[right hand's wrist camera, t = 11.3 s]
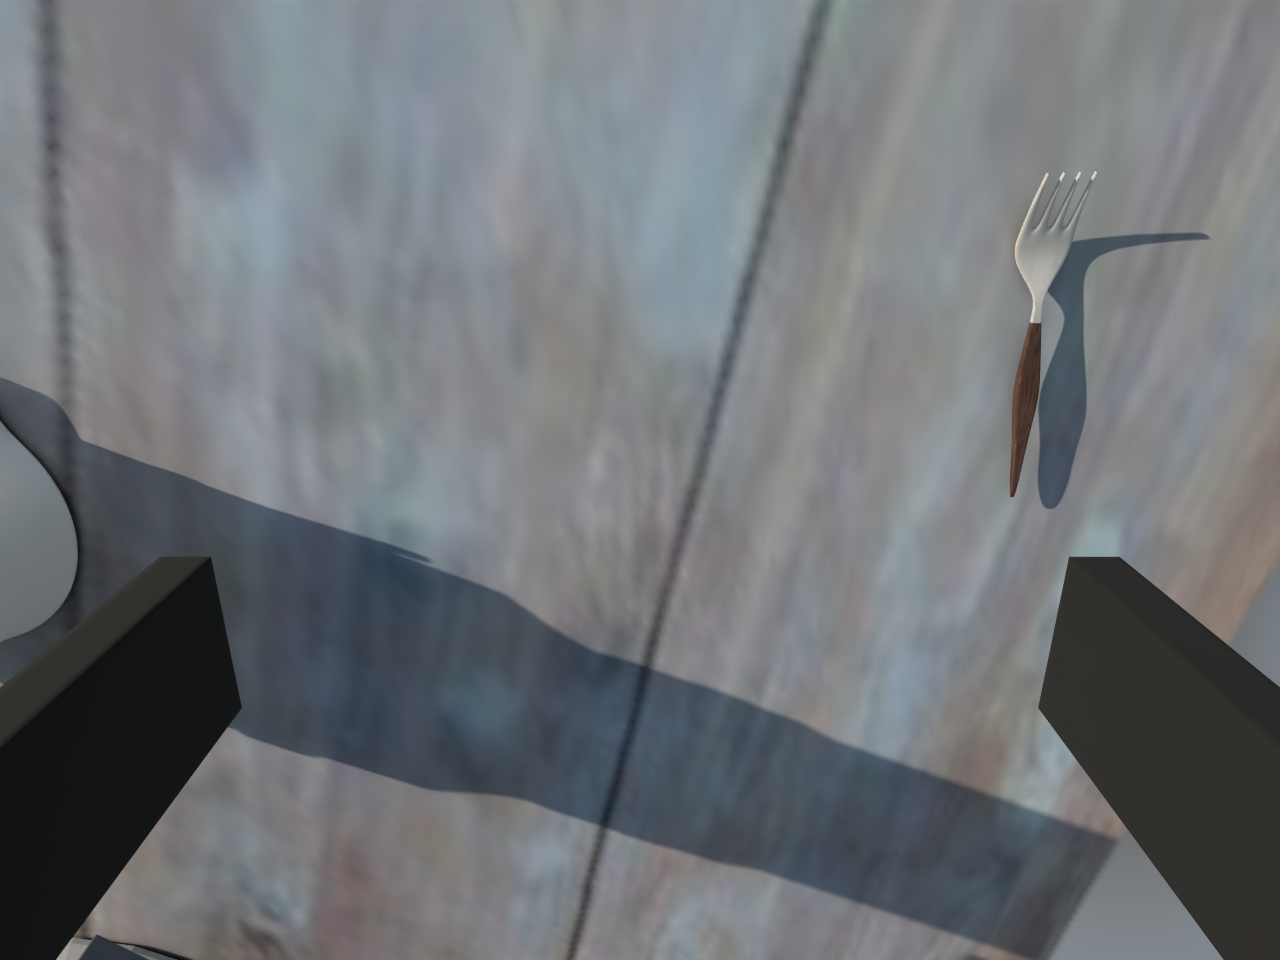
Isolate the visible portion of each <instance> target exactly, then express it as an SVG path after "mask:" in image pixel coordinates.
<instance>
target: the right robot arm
mask: <svg viewBox="0 0 1280 960" xmlns="http://www.w3.org/2000/svg"><path fill="white" fill-rule="evenodd" d="M241 708H242V707H241V702H240V697H239V692H238V688H237V683H236V678H235V673H234V668H233V663H232V658H231V653H230V648H229V644H228V639H227V634H226V629H225V624H224V619H223V614H222V609H221V604H220V600H219V595H218V590H217V585H216V580H215V575H214V570H213V565H212V560H211V557H160V558H159V559H157V560H156V561H155V562H154V563H153V564H151V565H150V566H149V567H148V568H146V569H145V570H144V571H143V572H141V573H140V574H139V575H138V576H137V577H135V578H134V579H133V580H132V581H130V582H129V583H128V584H127V585H126V586H124V587H123V588H122V589H121V590H119V591H118V592H117V593H116V594H114V595H113V596H112V597H111V598H110V599H108V600H107V601H106V602H105V603H103V604H102V605H101V606H100V607H98V608H97V609H96V610H95V611H94V612H92V613H91V614H90V615H89V616H87V617H86V618H85V619H84V620H83V621H81V622H80V623H79V624H78V625H76V626H75V627H74V628H73V629H71V630H70V631H69V632H68V633H67V634H65V635H64V636H63V637H62V638H60V639H59V640H58V641H57V642H55V643H54V644H53V645H52V646H51V647H49V648H48V649H47V650H46V651H44V652H43V653H42V654H41V655H39V656H38V657H37V658H36V659H35V660H33V661H32V662H31V663H30V664H28V665H27V666H26V667H25V668H24V669H22V670H21V671H20V672H19V673H17V674H16V675H15V676H14V677H12V678H11V679H10V680H9V681H8V682H6V683H5V684H4V685H3V686H1V687H0V960H56V959H57V958H58V957H59V955H60V954H61V952H62V951H63V950H64V948H65V947H66V946H67V944H68V943H69V942H70V940H71V939H72V938H73V936H74V935H75V933H76V932H77V931H78V929H79V928H80V927H81V925H82V924H83V923H84V921H85V920H86V919H87V917H88V916H89V914H90V913H91V912H92V910H93V909H94V908H95V906H96V905H97V904H98V902H99V901H100V900H101V898H102V897H103V895H104V894H105V893H106V891H107V890H108V889H109V887H110V886H111V885H112V883H113V882H114V880H115V879H116V878H117V876H118V875H119V874H120V872H121V871H122V870H123V868H124V867H125V866H126V864H127V863H128V861H129V860H130V859H131V857H132V856H133V855H134V853H135V852H136V851H137V849H138V848H139V847H140V845H141V844H142V842H143V841H144V840H145V838H146V837H147V836H148V834H149V833H150V832H151V830H152V829H153V828H154V826H155V825H156V823H157V822H158V821H159V819H160V818H161V817H162V815H163V814H164V813H165V811H166V810H167V809H168V807H169V806H170V804H171V803H172V802H173V800H174V799H175V798H176V796H177V795H178V794H179V792H180V791H181V790H182V788H183V787H184V785H185V784H186V783H187V781H188V780H189V779H190V777H191V776H192V775H193V773H194V772H195V770H196V769H197V768H198V766H199V765H200V764H201V762H202V761H203V760H204V758H205V757H206V756H207V754H208V753H209V751H210V750H211V749H212V747H213V746H214V745H215V743H216V742H217V741H218V739H219V738H220V737H221V735H222V734H223V732H224V731H225V730H226V728H227V727H228V726H229V724H230V723H231V722H232V720H233V719H234V718H235V716H236V715H237V713H238V712H239V711H240V709H241ZM1038 708H1039V709H1040V711H1041V712H1042V713H1043V715H1044V716H1045V718H1046V719H1047V720H1048V722H1049V723H1050V724H1051V726H1052V727H1053V728H1054V730H1055V731H1056V732H1057V734H1058V735H1059V737H1060V738H1061V739H1062V741H1063V742H1064V743H1065V745H1066V746H1067V747H1068V749H1069V750H1070V751H1071V753H1072V754H1073V756H1074V757H1075V758H1076V760H1077V761H1078V762H1079V764H1080V765H1081V766H1082V768H1083V769H1084V770H1085V772H1086V773H1087V775H1088V776H1089V777H1090V779H1091V780H1092V781H1093V783H1094V784H1095V785H1096V787H1097V788H1098V790H1099V791H1100V792H1101V794H1102V795H1103V796H1104V798H1105V799H1106V800H1107V802H1108V803H1109V804H1110V806H1111V807H1112V809H1113V810H1114V811H1115V813H1116V814H1117V815H1118V817H1119V818H1120V819H1121V821H1122V822H1123V823H1124V825H1125V826H1126V828H1127V829H1128V830H1129V832H1130V833H1131V834H1132V836H1133V837H1134V838H1135V840H1136V841H1137V842H1138V844H1139V845H1140V847H1141V848H1142V849H1143V851H1144V852H1145V853H1146V855H1147V856H1148V857H1149V859H1150V860H1151V861H1152V863H1153V864H1154V866H1155V867H1156V868H1157V870H1158V871H1159V872H1160V874H1161V875H1162V876H1163V878H1164V879H1165V880H1166V882H1167V883H1168V885H1169V886H1170V887H1171V889H1172V890H1173V891H1174V893H1175V894H1176V895H1177V897H1178V898H1179V900H1180V901H1181V902H1182V904H1183V905H1184V906H1185V908H1186V909H1187V910H1188V912H1189V913H1190V914H1191V916H1192V917H1193V919H1194V920H1195V921H1196V923H1197V924H1198V925H1199V927H1200V928H1201V929H1202V931H1203V932H1204V933H1205V935H1206V936H1207V938H1208V939H1209V940H1210V942H1211V943H1212V944H1213V946H1214V947H1215V948H1216V950H1217V951H1218V952H1219V954H1220V955H1221V957H1222V958H1223V959H1224V960H1280V687H1279V686H1277V685H1276V684H1275V683H1274V682H1272V681H1271V680H1270V679H1269V678H1268V677H1266V676H1265V675H1264V674H1262V673H1261V672H1260V671H1259V670H1258V669H1256V668H1255V667H1254V666H1253V665H1252V664H1250V663H1249V662H1248V661H1247V660H1245V659H1244V658H1243V657H1242V656H1241V655H1239V654H1238V653H1237V652H1236V651H1234V650H1233V649H1232V648H1231V647H1229V646H1228V645H1227V644H1226V643H1225V642H1223V641H1222V640H1221V639H1220V638H1218V637H1217V636H1216V635H1215V634H1213V633H1212V632H1211V631H1210V630H1209V629H1207V628H1206V627H1205V626H1204V625H1202V624H1201V623H1200V622H1199V621H1197V620H1196V619H1195V618H1194V617H1193V616H1191V615H1190V614H1189V613H1188V612H1186V611H1185V610H1184V609H1183V608H1182V607H1180V606H1179V605H1178V604H1177V603H1175V602H1174V601H1173V600H1172V599H1170V598H1169V597H1168V596H1167V595H1166V594H1164V593H1163V592H1162V591H1161V590H1159V589H1158V588H1157V587H1156V586H1154V585H1153V584H1152V583H1151V582H1150V581H1148V580H1147V579H1146V578H1145V577H1143V576H1142V575H1141V574H1140V573H1139V572H1137V571H1136V570H1135V569H1134V568H1132V567H1131V566H1130V565H1129V564H1127V563H1126V562H1125V561H1124V560H1123V559H1121V558H1120V557H1069V560H1068V565H1067V570H1066V575H1065V580H1064V585H1063V590H1062V595H1061V600H1060V604H1059V609H1058V614H1057V619H1056V624H1055V629H1054V634H1053V639H1052V644H1051V648H1050V653H1049V658H1048V663H1047V668H1046V673H1045V678H1044V683H1043V688H1042V692H1041V697H1040V702H1039V707H1038Z"/></svg>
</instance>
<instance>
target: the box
mask: <svg viewBox="0 0 1280 960" xmlns="http://www.w3.org/2000/svg"><path fill="white" fill-rule="evenodd" d="M78 960H149V959H147V958H145V957H143V956H141V955H139V954H137V953H134V952H132V951H130V950H128V949H126V948H124V947H122V946H120V945H118V944H116V943H114V942H112V941H109V940H107V939H105V938H103V937H101V936H99V935H96V936H94V938H93V939H92V941H91V942H90V943H89V945H88V946H87V947H86V949H85V950H84V952H83V953H82V954H81V956H80V957H79V959H78Z"/></svg>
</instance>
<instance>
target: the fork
mask: <svg viewBox="0 0 1280 960" xmlns="http://www.w3.org/2000/svg"><path fill="white" fill-rule="evenodd" d="M1097 174H1098V173H1097V172H1094V174H1093V176H1092V178H1091V180H1090V182H1089V184H1088V186H1087V187H1086V189H1085V191H1084V193H1083V195H1082V197H1081V199H1080V201H1079V203H1078V205H1077V207H1076V209H1075V211H1074V213H1073V215H1072V217H1071V219H1070V221H1069V223H1068V224H1067V225H1066V226H1065V227H1063V226H1062V224H1063V220H1064V216H1065V214H1066V211H1067V208H1068V205H1069V203H1070V200H1071V198H1072V195H1073V192H1074V190H1075V187H1076V185H1077V182H1078V180H1079V178H1080V176H1081V172H1079V173H1078V175H1077V177H1076V179H1075V180H1074V182H1073V184H1072V186H1071V188H1070V190H1069V192H1068V194H1067V196H1066V198H1065V200H1064V202H1063V204H1062V206H1061V208H1060V210H1059V213H1058V215H1057V217H1056V219H1055V221H1054V223H1053V224H1052V226H1051V227H1047V222H1048V219H1049V216H1050V213H1051V210H1052V207H1053V204H1054V202H1055V199H1056V196H1057V193H1058V191H1059V188H1060V186H1061V183H1062V180H1063V178H1064V176H1065V173H1064V172H1063V173H1062V175H1061V177H1060V179H1059V181H1058V183H1057V185H1056V187H1055V189H1054V191H1053V193H1052V195H1051V197H1050V199H1049V201H1048V204H1047V206H1046V208H1045V210H1044V212H1043V214H1042V217H1041V219H1040V221H1039V223H1038V224H1037V226H1036V227H1035V228H1032V221H1033V218H1034V215H1035V212H1036V209H1037V206H1038V203H1039V200H1040V197H1041V195H1042V192H1043V189H1044V186H1045V183H1046V181H1047V179H1048V177H1049V173H1046V175H1045V177H1044V179H1043V182H1042V184H1041V186H1040V188H1039V190H1038V192H1037V194H1036V196H1035V198H1034V201H1033V203H1032V205H1031V207H1030V209H1029V212H1028V214H1027V216H1026V219H1025V221H1024V224H1023V226H1022V229H1021V231H1020V233H1019V236H1018V239H1017V242H1016V246H1015V258H1016V263H1017V266H1018V268H1019V271H1020V273H1021V274H1022V276H1023V278H1024V280H1025V282H1026V283H1027V285H1028V287H1029V289H1030V291H1031V294H1032V297H1033V310H1032V315H1031V320H1030V324H1029V328H1028V332H1027V335H1026V339H1025V343H1024V347H1023V351H1022V355H1021V359H1020V363H1019V367H1018V371H1017V376H1016V380H1015V386H1014V393H1013V410H1012V451H1011V469H1010V497H1014V495H1015V492H1016V488H1017V485H1018V481H1019V476H1020V472H1021V468H1022V463H1023V459H1024V455H1025V450H1026V446H1027V442H1028V437H1029V433H1030V429H1031V425H1032V422H1033V418H1034V413H1035V409H1036V405H1037V400H1038V393H1039V383H1040V357H1041V317H1042V306H1043V301H1044V298H1045V295H1046V293H1047V291H1048V289H1049V287H1050V285H1051V283H1052V282H1053V280H1054V278H1055V277H1056V275H1057V273H1058V272H1059V270H1060V268H1061V266H1062V265H1063V263H1064V261H1065V259H1066V257H1067V254H1068V252H1069V249H1070V247H1071V243H1072V240H1073V236H1074V233H1075V229H1076V226H1077V222H1078V220H1079V217H1080V214H1081V212H1082V209H1083V206H1084V204H1085V201H1086V199H1087V196H1088V194H1089V192H1090V189H1091V187H1092V184H1093V182H1094V180H1095V178H1096V176H1097Z"/></svg>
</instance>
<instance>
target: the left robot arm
mask: <svg viewBox="0 0 1280 960" xmlns="http://www.w3.org/2000/svg"><path fill="white" fill-rule="evenodd" d="M77 562H78V546H77V538H76V532H75V528H74V524H73V520H72V517H71V514H70V512H69V509H68V507H67V504H66V502H65V500H64V498H63V496H62V494H61V492H60V491H59V489H58V487H57V486H56V484H55V482H54V481H53V479H52V478H51V477H50V475H49V474H48V472H47V471H46V470H45V468H44V467H43V466H42V465H41V464H40V462H39V461H38V460H37V459H36V458H35V457H34V456H33V455H32V454H31V453H30V452H29V451H28V450H27V449H26V448H25V447H24V446H23V445H22V444H21V443H20V442H19V441H18V440H17V439H16V438H15V437H14V436H13V435H12V434H11V433H10V432H9V431H8V429H7V428H6V427H5V426H4V425H3V423H2V422H1V421H0V642H2V641H4V640H7V639H10V638H13V637H16V636H18V635H21V634H24V633H26V632H28V631H31V630H33V629H34V628H36V627H38V626H40V625H41V624H43V623H44V622H45V621H47V620H48V619H49V618H50V617H51V616H52V615H53V614H54V613H55V612H56V611H57V610H58V609H59V608H60V607H61V605H62V604H63V603H64V601H65V599H66V598H67V596H68V594H69V592H70V590H71V588H72V585H73V582H74V579H75V575H76V570H77Z"/></svg>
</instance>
